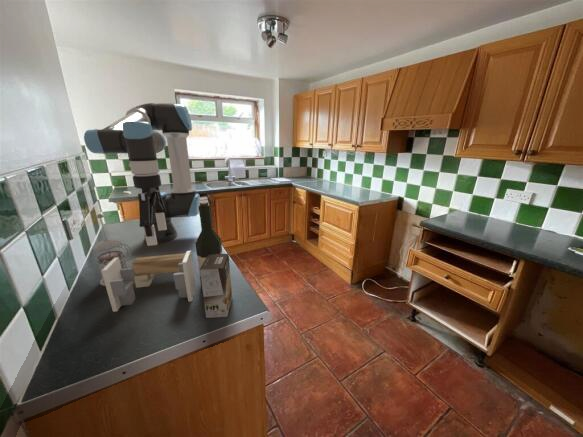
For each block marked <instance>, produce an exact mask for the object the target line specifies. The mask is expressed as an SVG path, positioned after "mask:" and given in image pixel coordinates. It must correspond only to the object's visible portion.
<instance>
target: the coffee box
mask: <svg viewBox="0 0 583 437" xmlns="http://www.w3.org/2000/svg"><path fill="white" fill-rule="evenodd" d="M200 273H201V281H202V287H201V288H202V296H203V304H204V311H205V318H206V319H209V318H210V319H212V318H226V317H228V316H229V311H230V308H231V303H232V301H233V290H232V289H233V288H232V280H231V278H232V277H231V267H230V254H229V253H223V254H214V255H208V256H207V258H206V259H205V261H204V263H203V264H202V266H201V268H200ZM201 281H200V282H201Z"/></svg>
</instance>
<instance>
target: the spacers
mask: <svg viewBox="0 0 583 437" xmlns="http://www.w3.org/2000/svg"><path fill="white" fill-rule="evenodd" d="M177 273H180V272H179V271H178V272H177ZM134 278H135V282H134V284H135V287H136V288H138V289H139V288H144V287H150V285H151V284H152V281H153V280H154V278H155V274H151V275H141V276H135V275H134Z"/></svg>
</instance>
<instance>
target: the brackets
mask: <svg viewBox="0 0 583 437" xmlns="http://www.w3.org/2000/svg"><path fill="white" fill-rule="evenodd" d="M185 253H186V254H185V257H184V259H183V262H182V263H179V264H178V266H179V272H180V273H178V272H173V281H174V285H175V290H178V295H179V299H182V298H187V301H188V302H189V303H190V302H193V299H194V296H195V292H196V288H197V284H196V278H195V269H194V264H193V256H192V250H186V252H185ZM108 263H109V264H108ZM108 263H107V264H108V265H107V266H106V267H105V268H104V269H103V270H102V275H103V278H104V282H105V285H106V286H105V288H106V293H107V295H108V298H109V302H110V306H111V309H112V312H113V313H115V312H118V311H119V309H120V308H121V307H122V306H130V305H133V304H134V302H135V300H136V294H135V290H134V286H133V285H134V284H135V278H134V277H135V274H134V270H133V267H127V268H126V267H124V269H122V268H121V264H120V260H119V257H116V258H114V259H113V260H112V261H109V262H108ZM102 275H101V276H102Z"/></svg>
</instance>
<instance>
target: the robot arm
mask: <svg viewBox="0 0 583 437" xmlns="http://www.w3.org/2000/svg"><path fill="white" fill-rule="evenodd" d="M192 126H193V124H192V119H191V116H190V112H189V111H188V108H187V106H185V105H184V104H180V103H158V102H157V103H156V102H155V103H153V102H150V103H149V102H148V103H144V104H143V103H142V104H140V105H136V106H134V107H132V108H130V109H128V110H127V111H126V113H125V115H124V116H122V117H121V118H119V119H118V120H116V121H115V122H113V123H111V124H109V125H108V126H106V127H104V128H102V129H97V128H94V129H88V130H86V131H85V132H84V135H83V140H84V144H85V145H86V147H87V150H89V152H91V153H93V154H98V155H99V154H103V155H107V154H108V155H109V154H110V155H112V154H119V155H121V154H127V156H128V161H129V163H128V167H129V168H130V171H131V174H132V175H133V176H132V181H133V186H134V188H135V189H140V190H141V193H138V194H137V198H138V208H139V209H138V210H139V211H138V212H139V227H140V228H142V227H143V231H144V235H143V237H144V241H145V242H146V245H147V246H148V247H149V246H157V245H158V243H164V242H169V241H171V240H173V239H175V238H177V237H178V231H177V229H176V227H175V226H174V224H173V222H172V219H174V218H189V217H196V216H197V215H198V214H200V213H199V205H200V202H201V196H200V194H199V193H198V192H196V189H195V188H194V187H193V185H192V184H193V183H192V177H191V176H192V175H191V167H190V166H191V165H190V158H189V157H190V156H189V151H188V143H187V138H188V137H189V136H190V131H192V130H193V127H192ZM159 131H161V132H162V133H161V132H159ZM165 138H166V139H165ZM166 144H167V150H168V157H169V158H168V159H169V164H170V173H171V177H172V178H171V179H172V189H171V191H170V194H168V193H167V192H166V191H160V187H161V186H162V180H161V175H160V174H159V173H160V169H159V168H160V167H159V166H160V165H159V162H158V158H157V156H158V155H157V154H158V153H161V152H162V151H163V150H165V148H166Z"/></svg>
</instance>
